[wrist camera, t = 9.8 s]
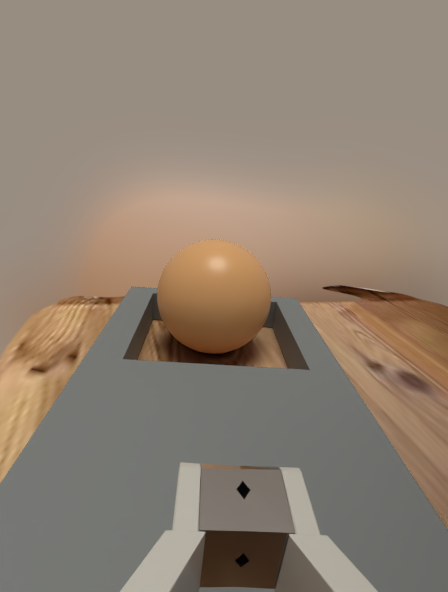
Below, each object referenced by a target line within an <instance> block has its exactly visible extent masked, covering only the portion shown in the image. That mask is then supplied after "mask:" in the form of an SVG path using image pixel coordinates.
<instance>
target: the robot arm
mask: <svg viewBox="0 0 448 592" xmlns="http://www.w3.org/2000/svg"><path fill="white" fill-rule="evenodd" d="M200 587H246V588H265V589H275V592H378V591H377V590H376V589H375V588H374V587H373V585H372V584H371V583H370V582H369V581H368V580H367V579H366V578H365V577H364V576H363V574H362V573H361V572H360V571H359V570H358V569H357V568H356V567H355V566H354V564H353V563H352V562H351V561H350V560H349V559H348V558H347V557H346V556H345V555H344V553H343V552H342V551H341V550H340V549H339V548H338V547H337V546H336V545H335V543H334V542H333V541H332V540H331V539H330V538H329V537H328V536H327V535H321V534H320V531H319V528H318V524H317V521H316V518H315V514H314V511H313V508H312V504H311V501H310V498H309V495H308V491H307V488H306V485H305V481H304V478H303V475H302V472H301V470H300V469H299V468H290V467H279V468H278V467H271V466H231V465H217V464H204V463H201V465H200V463H185V462H180V466H179V473H178V482H177V491H176V500H175V509H174V518H173V527H172V530H165V532H164V533H163V534H162V536H161V537H160V538H159V540H158V541H157V542H156V544H155V545H154V546H153V548H152V549H151V550H150V552H149V553H148V554H147V556H146V557H145V558H144V560H143V561H142V562H141V564H140V565H139V567H138V568H137V569H136V571H135V572H134V573H133V575H132V576H131V577H130V579H129V580H128V581H127V583H126V584H125V585H124V587H123V588H122V589H121V591H120V592H199V588H200Z"/></svg>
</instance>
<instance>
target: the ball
mask: <svg viewBox="0 0 448 592" xmlns="http://www.w3.org/2000/svg"><path fill="white" fill-rule="evenodd" d="M157 303H158V309H159V312H160V316H161V318H162V321H163V323H164V325H165V326H166V328H167V329H168V331H169V332H170V333H171V334H172V335H173V337H174V338H176V339H177V340H178V341H179V342H180V343H182V344H183V345H185V346H187V347H189V348H191V349H193V350H196V351H199V352H204V353H212V354H215V353H225V352H229V351H233V350H235V349H237V348H240V347H242V346H243V345H245V344H246V343H248V342H249V341H250V340H252V339H253V338H254V337H255V336H256V335H257V333H258V332H259V331H260V330H261V328H262V327H263V325H264V323H265V321H266V319H267V317H268V314H269V311H270V305H271V288H270V283H269V279H268V277H267V274H266V272H265V270H264V268H263V266H262V265H261V263H260V262H259V261H258V260H257V258H256V257H255V256H254V255H253V254H252V253H250V252H249V251H248V250H246V249H245V248H243V247H242V246H239V245H237V244H235V243H232V242H229V241H224V240H204V241H199V242H196V243H193V244H191V245H189V246H187V247H185V248H183V249H182V250H181V251H179V252H178V253H177V254H176V255H175V256H174V257H173V258H172V259H171V260H170V261H169V263H168V264H167V265H166V267H165V269H164V270H163V272H162V275H161V277H160V280H159V284H158V290H157Z"/></svg>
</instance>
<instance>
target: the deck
mask: <svg viewBox="0 0 448 592" xmlns="http://www.w3.org/2000/svg"><path fill="white" fill-rule="evenodd" d="M157 290H158V288H145V287H131V288H130V290H129V291H128V293H127V295H126V296H125V297H124V299H123V300H122V302H121V303H120V305H119V306H118V308H117V309H116V311H115V312H114V314H113V315H112V317H111V318H110V320H109V321H108V323H107V324H106V326H105V327H104V329H103V330H102V332H101V333H100V335H99V336H98V338H97V339H96V341H95V342H94V344H93V345H92V347H91V348H90V350H89V351H88V353H87V354H86V356H85V357H84V359H83V360H82V362H81V363H80V365H79V366H78V368H77V369H76V371H75V372H74V374H73V375H72V377H71V378H70V380H69V381H68V383H67V384H66V386H65V387H64V389H63V390H62V392H61V393H60V395H59V396H58V398H57V399H56V401H55V402H54V404H53V405H52V407H51V408H50V410H49V411H48V413H47V414H46V416H45V417H44V419H43V420H42V422H41V423H40V425H39V426H38V428H37V429H36V431H35V432H34V434H33V435H32V437H31V438H30V440H29V441H28V443H27V444H26V446H25V447H24V449H23V450H22V452H21V453H20V455H19V457H18V458H17V460H16V461H15V463H14V464H13V466H12V467H11V469H10V470H9V472H8V473H7V475H6V476H5V478H4V479H3V481H2V482H1V484H0V592H120V591H121V589H122V588H123V587H124V585H125V584H126V583H127V581H128V580H129V579H130V577H131V576H132V575H133V573H134V572H135V571H136V569H137V568H138V567H139V565H140V564H141V562H142V561H143V560H144V558H145V557H146V556H147V554H148V553H149V552H150V550H151V549H152V548H153V546H154V545H155V544H156V542H157V541H158V540H159V538H160V537H161V536H162V534H163V533H164V532H165V530H172V527H173V518H174V509H175V500H176V491H177V482H178V473H179V466H180V462H185V463H200V465H201V463H204V464H217V465H231V466H271V467H278V468H279V467H290V468H299V469H300V470H301V472H302V475H303V478H304V481H305V485H306V488H307V491H308V495H309V498H310V501H311V504H312V508H313V511H314V514H315V518H316V521H317V524H318V528H319V531H320V534H321V535H327V536H328V537H329V538H330V539H331V540H332V541H333V542H334V543H335V545H336V546H337V547H338V548H339V549H340V550H341V551H342V552H343V553H344V555H345V556H346V557H347V558H348V559H349V560H350V561H351V562H352V563H353V564H354V566H355V567H356V568H357V569H358V570H359V571H360V572H361V573H362V574H363V576H364V577H365V578H366V579H367V580H368V581H369V582H370V583H371V584H372V585H373V587H374V588H375V589H376V590H377V591H378V592H448V530H447V528H446V527H445V525H444V523H443V522H442V520H441V519H440V517H439V516H438V514H437V513H436V511H435V510H434V508H433V507H432V505H431V504H430V502H429V501H428V499H427V497H426V496H425V494H424V493H423V491H422V490H421V488H420V487H419V485H418V484H417V482H416V481H415V479H414V478H413V476H412V475H411V473H410V471H409V470H408V468H407V467H406V465H405V464H404V462H403V461H402V459H401V458H400V456H399V455H398V453H397V452H396V450H395V449H394V447H393V445H392V444H391V442H390V441H389V439H388V438H387V436H386V435H385V433H384V432H383V430H382V429H381V427H380V426H379V424H378V423H377V421H376V420H375V418H374V416H373V415H372V413H371V412H370V410H369V409H368V407H367V406H366V404H365V403H364V401H363V400H362V398H361V397H360V395H359V394H358V392H357V390H356V389H355V387H354V386H353V384H352V383H351V381H350V380H349V378H348V377H347V375H346V374H345V372H344V371H343V369H342V368H341V366H340V364H339V363H338V361H337V360H336V358H335V357H334V355H333V354H332V352H331V351H330V349H329V348H328V346H327V345H326V343H325V342H324V340H323V338H322V337H321V335H320V334H319V332H318V331H317V329H316V328H315V326H314V325H313V323H312V322H311V320H310V319H309V317H308V316H307V314H306V312H305V311H304V309H303V308H302V306H301V305H300V303H299V302H298V300H297V299H296V298H282V297H271V305H270V311H269V314H268V317H267V319H266V321H265V323H264V325H263V327H273V330H274V332H275V335H276V337H277V340H278V343H279V345H280V348H281V350H282V353H283V356H284V358H285V361H286V363H287V366H288V368H289V369H284V368H267V367H250V366H232V365H215V364H197V363H180V362H163V361H145V360H137V359H138V356H139V353H140V351H141V348H142V346H143V343H144V340H145V338H146V335H147V333H148V330H149V327H150V325H151V322H152V320H153V319H154V320H162V318H161V316H160V312H159V309H158V303H157ZM199 592H275V589H265V588H246V587H200V588H199Z"/></svg>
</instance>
